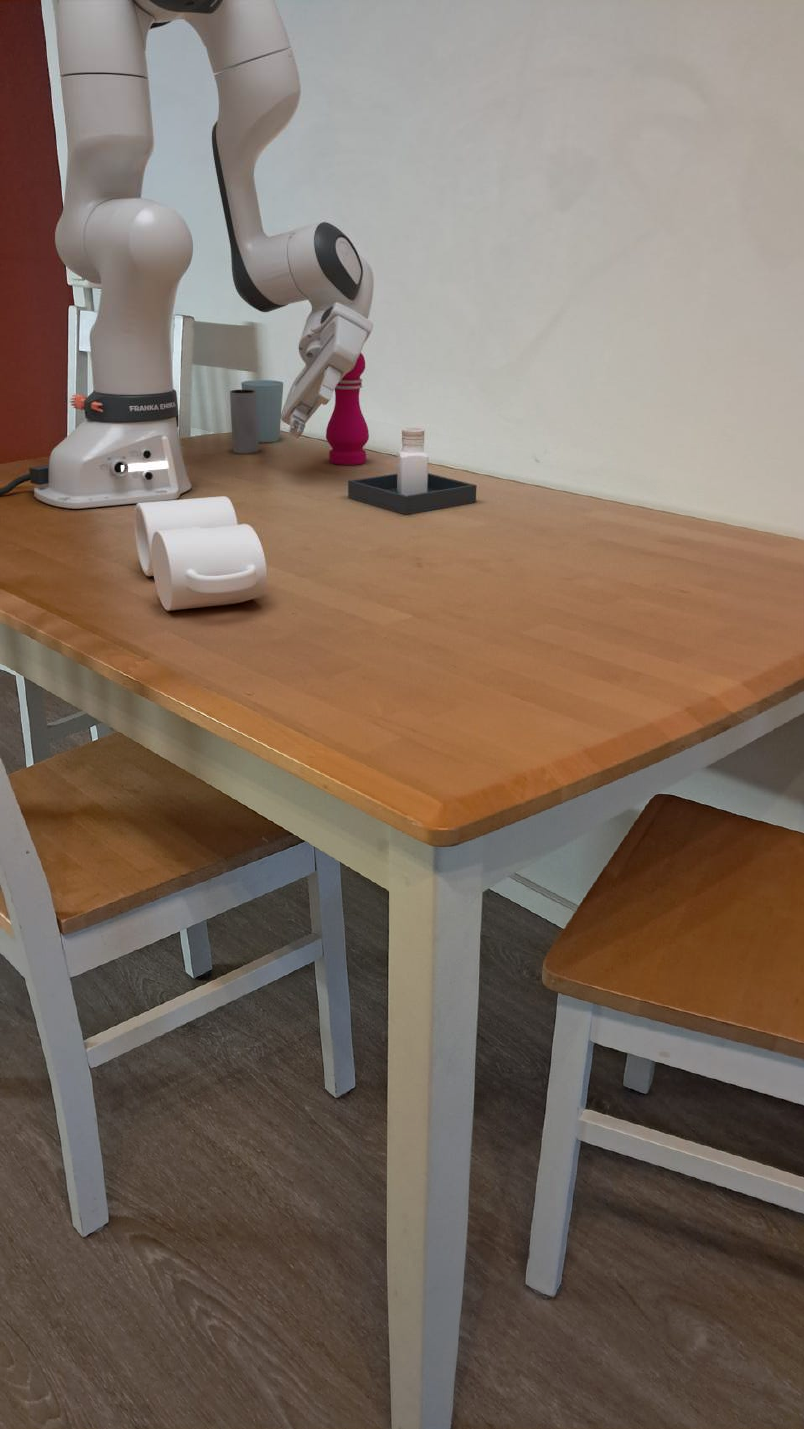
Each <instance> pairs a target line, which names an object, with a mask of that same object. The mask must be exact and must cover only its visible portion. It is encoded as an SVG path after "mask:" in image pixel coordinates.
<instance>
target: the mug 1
mask: <svg viewBox="0 0 804 1429" xmlns="http://www.w3.org/2000/svg"><path fill="white" fill-rule="evenodd" d="M133 513H134V514H133V529H134V530H133V532H134V539H135V547H136V553H137V557H138V560H139V564H140V567H141V569H142V572H143V574H144V575H145V576H146V577H154V574H153V567H152V554H151V547H152V538H153V535H154V533H155V532H156V531H162V530H171V529H179V528H188V527H196V526H198V527H200V528H204V529H206V528H215V527H223V526H232V525H239V522H238V518H237V513H236V511H235V507H234V504H233V503H232V501H231V500H230V498H229V497H227V496H225V495H223V496H222V495H221V496H207V497H197V498H183V499H174V500H164V501H153V502H143V503H136V505H135V507H134V512H133Z"/></svg>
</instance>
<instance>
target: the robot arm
mask: <svg viewBox="0 0 804 1429" xmlns="http://www.w3.org/2000/svg"><path fill="white" fill-rule="evenodd" d="M57 6H58V8H57V55H58V68H59V77H60V87H61V95H62V103H63V104H62V105H63V113H64V114H63V115H64V123H65V131H66V145H67V147H66V148H67V161H66V162H67V163H66V176H65V188H64V199H63V208H62V213H61V216H60V218H59V220H58V222H57V223H56V227H55V232H54V242H55V243H54V244H55V248H56V251H57V254H58V257H59V259H60V260H61V261H62V263H63V264H64V265H65V267H66V268H67V269H68V270H69V271H71V272H72V273H73V274H75V275H77V276H78V277H81V278H82V279H84V280H86V281H88V282H90V283H92V284H95V285H100V297H99V305H98V311H97V316H96V319H95V320H94V323H93V325H92V326H91V328H90V330H89V346H90V356H91V358H90V359H91V367H92V368H91V369H92V376H93V378H92V379H93V385H94V390H93V391H92V392H91V393H90V394H89V395H88V396H87V397H86V396H85V395H81V394H78V393H75V394H73V395H72V396H71V398H70V401H69V403H71V404H70V406H72V407H73V409H76V410H79V411H84V417H85V419H84V420H83V421H82V422H81V423H80V424H79V425H77V427H76V428H74V429H73V430H72V431H71V432H70V433H69V434H68V435H67V436H66V437H65V438H64V439H63V440H62V441H61V442H59V444H57V445H56V446H55V447H54V448H53V449H52V451H51V452H50V456H49V459H48V463H47V464H42V465H36V466H31V467H29V468H28V470H29V473H26V474H23V475H21V476H18V477H16V478H14V479H13V480H11V481H10V482H9V483H8V484H7V485H5V486H3V487H1V488H0V496H3V495H6V494H8V493H10V492H11V491H13V490H14V489H15V488H16V487H18V486H19V485H21V484H23V483H25V482H28V481H30V484H34V485H36V486H35V487H34V489H33V496H34V498H35V499H37V500H38V501H40V502H41V503H44V504H47V505H51V506H54V507H58V508H64V509H75V510H76V509H77V510H78V509H89V508H90V509H91V508H98V507H110V506H121V505H130V504H138V503H145V502H158V501H170V500H178V499H179V498H180V495H181V494H184V493H186V492H188V491H190V490H191V489H192V483H191V481H190V479H189V475H188V472H187V469H186V466H185V465H186V464H185V462H184V457H183V453H182V447H181V442H180V437H179V429H178V428H179V425H180V424H179V422H180V416H179V405H178V404H179V402H178V393H177V390H176V389H175V388H174V378H173V375H174V374H173V360H172V358H173V357H172V341H171V340H172V338H171V337H172V322H173V317H174V316H173V315H174V309H175V304H176V300H177V299H176V298H177V293H178V289H179V286H180V282H181V280H182V278H183V277H184V275H185V274H186V272H187V271H188V269H189V267H190V265H191V262H192V260H193V255H194V253H193V252H194V242H193V237H192V236H193V235H192V233H191V229H190V227H189V225H188V223H187V222H186V221H185V219H184V218H183V216H182V215H181V214H180V213H179V212H177V211H176V210H175V209H173V208H172V207H170V206H168V205H165V204H163V203H161V202H159V201H156V200H154V199H150V198H146V197H145V198H144V197H142V195H143V194H142V193H143V184H144V178H145V173H146V168H147V166H148V163H149V160H150V159H151V157H152V155H153V152H154V149H155V148H154V147H155V137H154V126H153V124H154V123H153V113H152V103H151V93H150V80H149V71H148V62H147V56H146V55H147V54H146V51H147V39H148V34H149V31H150V30H152V29H156V28H161V27H163V26H166V25H168V24H169V23H172V22H174V21H177V20H184V21H185V22H186V23H187V24H188V25H190V26H191V27H192V28H193V29H194V31H195V33H197V35H198V36H199V38H200V40H201V42H202V44H203V46H204V47H205V49H206V53H207V56H208V57H207V58H208V60H209V64H210V67H211V70H212V74H214V75H213V76H214V80H215V83H216V88H217V97H218V113H217V114H218V116H217V120H216V121H215V123H214V125H213V127H212V130H211V149H212V155H213V162H214V168H215V174H216V178H217V184H218V189H219V194H220V195H219V196H220V200H221V204H222V205H221V206H222V210H223V215H224V220H225V225H226V230H227V235H228V242H229V246H230V258H231V260H230V262H231V274H232V281H233V285H234V287H235V290H236V293H237V294H238V295H239V297H240V298H241V299H242V300H243V301H244V302H245V303H246V304H247V305H249V306H250V307H252V308H254V309H255V310H257V311H259V312H260V313H261V312H262V313H269V312H273V311H275V310H278V309H281V308H284V307H286V306H288V305H291V304H295V303H300V302H303V301H304V302H305V301H308V302H309V303H310V305H311V311H310V313H309V314H308V316H307V318H306V320H305V324H304V327H303V329H302V333H301V337H300V340H299V343H298V353H299V356H300V358H301V360H302V362H304V364H305V365H304V367H303V368H302V369H301V371H300V372H299V373H298V375H297V376H296V377H295V379H294V380H293V383H292V384H291V386H290V388H289V391H288V394H287V396H286V399H285V402H284V405H283V406H282V407H283V408H282V409H281V421H282V422H283V423H285V424H286V425H289V429H288V434H289V435H290V436H291V437H294V438H296V439H299V438H300V437H301V436H302V435H303V433H304V431H305V429H306V423H307V422H308V421H309V420H310V419H311V417H312V416H313V415H314V413H315V412H316V411H317V410H318V409H319V408H320V407H321V405H324V406H327V404H328V403H329V402H330V401H331V399H332V397H333V394H334V392H335V387H336V385H337V384H338V383H339V382H340V380H341V379H342V378H343V377H344V376H345V374H346V373H348V372H350V371H351V370H352V369H353V368H354V366H355V364H356V360H357V359H358V357H359V355H360V353H362V350H363V348H364V345H365V343H366V341H368V339H369V337H370V335H371V333H372V332H373V327H374V323H373V322H372V321H370V320H369V317H370V313H371V309H372V305H373V304H372V303H373V298H374V290H375V289H374V288H375V287H374V286H375V284H374V282H375V281H374V273H373V270H372V268H371V265H370V263H369V262H368V261H367V260H366V259H365V257H364V256H362V255H361V254H360V253H358V251H357V249H356V247H355V246H354V244H353V242H352V241H351V239H350V238H349V237H348V236H347V235H346V234H345V233H344V232H343V231H342V230H341V229H339V228H338V227H337V226H335V225H334V224H332V223H329V222H326V221H323V222H318V223H314V224H310V225H306V226H302V227H298V228H295V229H292V230H290V231H286V232H282V233H279V234H274V235H271V236H268V235H267V234H266V233H265V231H264V227H263V222H262V216H261V211H260V205H259V200H258V194H257V188H256V183H255V169H256V164H257V162H258V159H259V158H260V156H261V154H262V153H263V152H264V150H266V148H267V147H268V146H269V145H270V144H271V143H272V142H273V141H274V140H275V139H276V138H277V137H279V135H281V133H282V132H283V131H284V130H285V129H286V128H287V127H288V125H289V124H290V123H291V121H292V120H293V118H294V116H295V114H296V112H297V110H298V107H299V103H300V99H301V95H302V88H301V80H300V74H299V70H298V66H297V63H296V59H295V55H294V52H293V49H292V45H291V41H290V39H289V35H288V33H287V30H286V27H285V23H284V21H283V18H282V16H281V13H280V10H279V8H278V6H277V2H276V1H275V0H58V5H57Z"/></svg>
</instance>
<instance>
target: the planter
mask: <svg viewBox="0 0 804 1429" xmlns="http://www.w3.org/2000/svg"><path fill="white" fill-rule="evenodd" d="M229 404H230V421H231V425H230V426H231V440H232V441H231V443H232V445H231V446H232V452H233V453H236V454H245V455H246V454H256V453H258V452H259V446H260V445H259V442H258V421H257V396H256V391H255V390H242V389H233V390H230V391H229Z"/></svg>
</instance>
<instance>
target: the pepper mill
mask: <svg viewBox="0 0 804 1429" xmlns="http://www.w3.org/2000/svg"><path fill="white" fill-rule="evenodd" d="M365 369H366V359H365V356H364V355H363V353H362V352H361V353H360V355H359V357H358V359H357V360H356V364H355V366H354V368H353V369H352V370H351V371H350V372H348V373H346V374H345V376H344V377H343V378H342V379H341V380H340V382H339V383H338V384H337V385H336V387H335V389H334V396H335V398H334V408H333V411H332V414H331V416H330V418H329V421H328V423H327V427H326V430H325V431H326V432H325V439H326V441H327V443H328V444H329V446H331V449H330V450H329V451H328V461H329V463H331V464H334V465H339V466H357V465H362V464H365V463H366V462H367V452H366V450H365V449H364V447H365V445H366V444H367V443H368V441H369V438H370V434H369V432H370V431H369V427H368V423H367V421H366V419H365V417H364V414H363V412H362V410H361V409H362V408H361V405H360V391H361V389H362V388H363V385H362V384H363V383H362V382H363V379H362V378H361V376H362V374H363V373H364V372H365Z"/></svg>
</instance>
